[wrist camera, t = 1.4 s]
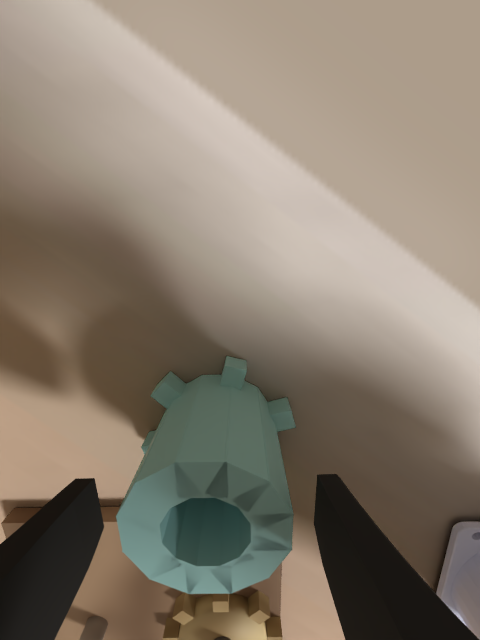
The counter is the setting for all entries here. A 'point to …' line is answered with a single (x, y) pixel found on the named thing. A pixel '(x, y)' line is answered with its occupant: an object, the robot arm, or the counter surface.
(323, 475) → the robot arm
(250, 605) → the gear board
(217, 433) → the gear
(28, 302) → the counter surface
